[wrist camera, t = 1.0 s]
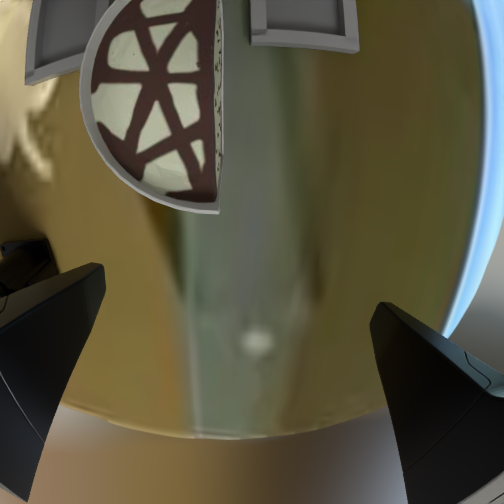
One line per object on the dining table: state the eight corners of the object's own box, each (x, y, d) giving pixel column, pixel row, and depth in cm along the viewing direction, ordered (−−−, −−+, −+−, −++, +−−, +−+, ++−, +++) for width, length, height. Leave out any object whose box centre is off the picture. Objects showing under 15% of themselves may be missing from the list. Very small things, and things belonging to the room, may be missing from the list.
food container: (138, 24, 15) (80, -30, 6) (224, 15, 16) (220, -56, 7) (140, 182, 21) (80, 231, 12) (223, 178, 21) (218, 225, 12)
